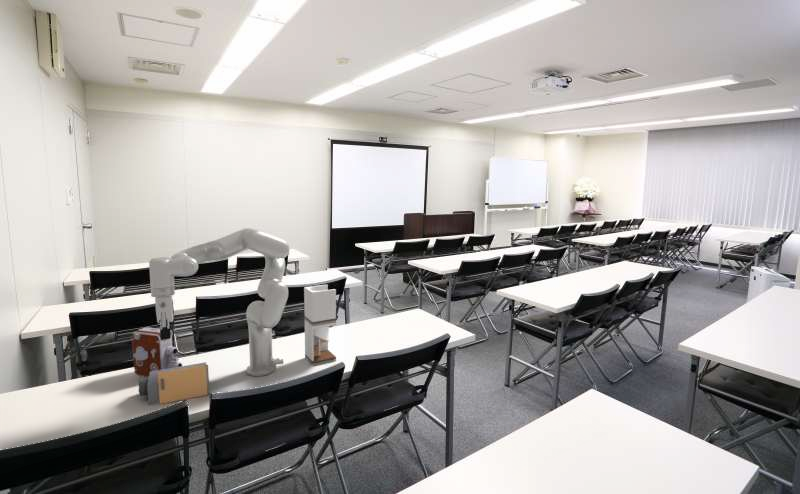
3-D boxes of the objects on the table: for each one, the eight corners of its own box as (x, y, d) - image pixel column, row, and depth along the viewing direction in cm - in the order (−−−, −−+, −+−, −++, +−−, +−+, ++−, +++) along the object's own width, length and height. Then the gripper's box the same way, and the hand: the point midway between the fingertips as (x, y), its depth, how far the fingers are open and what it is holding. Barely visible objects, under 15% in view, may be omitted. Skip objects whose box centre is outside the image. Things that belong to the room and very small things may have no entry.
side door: (209, 393, 157) (208, 364, 155) (209, 395, 155) (208, 366, 154) (160, 402, 149) (157, 372, 148) (159, 405, 148) (157, 374, 146)
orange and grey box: (206, 380, 168) (206, 362, 166) (208, 393, 157) (207, 374, 156) (142, 391, 157) (140, 372, 156) (139, 407, 147) (137, 386, 145)
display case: (312, 366, 183) (312, 292, 178) (305, 357, 192) (304, 287, 186) (335, 360, 189) (335, 289, 184) (327, 352, 198) (327, 284, 192)
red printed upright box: (170, 382, 165) (167, 336, 162) (131, 376, 169) (127, 331, 166) (186, 372, 174) (184, 328, 171) (149, 367, 178) (145, 324, 175)
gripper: (173, 295, 141) (176, 344, 144) (175, 285, 154) (177, 330, 157) (149, 297, 138) (152, 347, 141) (152, 287, 151) (155, 333, 154)
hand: (165, 338), depth 149 cm, fingers closed
